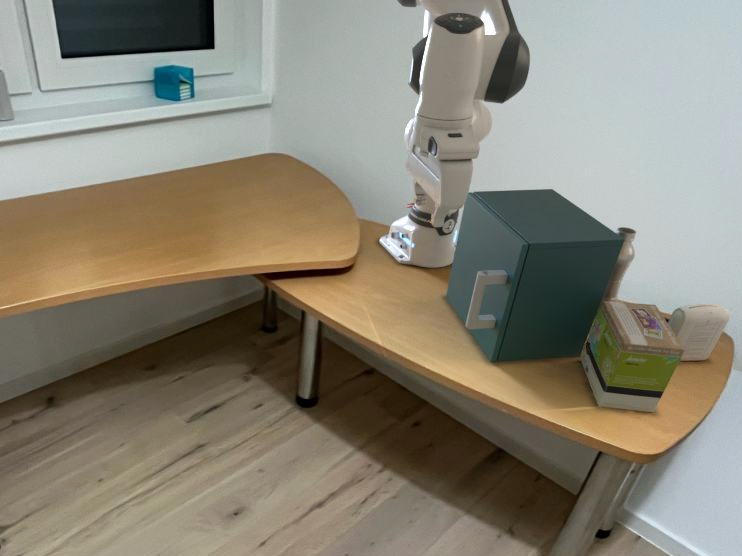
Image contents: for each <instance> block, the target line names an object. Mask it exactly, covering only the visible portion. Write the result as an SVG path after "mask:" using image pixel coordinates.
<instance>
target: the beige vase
mask: <svg viewBox="0 0 742 556" xmlns="http://www.w3.org/2000/svg"><path fill="white" fill-rule="evenodd" d="M615 233H616V234H618V235H619V236H621V237H622V238H624V239H625V241H624V243H623V246H622V249H621V251H620V254H619V256H618V259H617V262H616V264H615V267H614V270H613V272H612V275H611V277H610V280H609V283H608V285H607V288H606V290H605V293H604V296H603V298H602V301H603V300H604V301H612V302H618V296H619V291H620V288H621V285H622V281H623V279H624V277H625V275H626V273H627V271H628V269H629V268H630V266H631V264H632V262H633V260H634V258H635V255H636V254H635V253H636V252H635V248H634V245H633V242H634V241H635V239H636V238H635V237H636V235H637V231H636V230H635V229H633V228H630V227H625V226H623V227H622V226H621V227H620V226H619V227H618V228H617V229H616V231H615ZM602 301H601V302H602ZM600 305H601V304H600ZM599 307H600V306H599ZM598 310H599V309H598ZM597 313H598V311H597Z"/></svg>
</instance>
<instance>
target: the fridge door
mask: <svg viewBox="0 0 742 556" xmlns="http://www.w3.org/2000/svg"><path fill="white" fill-rule="evenodd" d="M528 246H529V244H528V243H527V242H526V241H525V240H524V239H523V238H521V237H520V236H519V235H518V234H517V233H516V232H515V231H514V230H513V229H512V228H510V227H509V226H508V225H507V224H506V223H505V222H504V221H503V220H502V219H501V218H500V217H498V216H497V215H496V214H495V213H494V212H493V211H492V210H491V209H490V208H489V207H487V206H486V205H485V204H484V203H483V202H482V201H481V200H480V199H479V198H478V197H476V196H475V195H474V194H473V192H472V191H471V192H469V191H468V195H467V199H466V202H465V204H464V205H463V210H462V215H461V220H460V224H459V230H458V233H457V238H456V243H455V247H456V249H455V253H454V259H453V263H451V264H452V265H451V269H450V275H449V280H448V283H447V284H448V285H447V289H446V295H445V298H446V300H447V302H448V303H449V304H450V305H451V307H452V309H453V310H454V311H455V313H456V314H457V316H458V317H459V319H460V321H461V322H462V323H463V325H464V326H465V328H466V329H467V330H468V331H469V333H470V334H471V336H472V337H473V339H474V340H475V342H476V343H477V345H478V346H479V348H480V349H481V350H482V352H483V354H484V355H485V356H486V358H487V359H488V361H489V362H490V363H497V357H498V353H499V350H500V346H501V343H502V339H503V335H504V332H505V328H506V325H507V321H508V318H509V314H510V310H511V307H512V303H513V300H514V296H515V292H516V289H517V285H518V282H519V278H520V274H521V271H522V267H523V264H524V260H525V257H526V253H527V249H528Z"/></svg>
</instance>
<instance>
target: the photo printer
mask: <svg viewBox="0 0 742 556" xmlns="http://www.w3.org/2000/svg"><path fill="white" fill-rule="evenodd" d="M668 319H669V321H668V325H669V326H670V328H671V329H672V331H673V332H674V334H675V335H676V337H677V338H678V340H679V341H680V343H681V344H682V346H683V347H684V349H685V351H684V353H683V355H682V357H681V360H680V361H681V362H683V361H684V362H685V361H689V362H690V361H706V360H708V359H709V357H710V356H711V353H712V352H713V350H714V348H715V347H716V345H717V343H718V341H719V340H720V337H721V336H722V335H723V332H724V330H725V328H726V327H727V325H728V323H729V322H730V310H729V309H726V308H725V306H722V305H718V304H714V303H693V304H688V305H683V306H679V307H677V308H675V309H674V310H673V311H672V313H671V315H670V317H669V318H668ZM680 361H679V362H680Z"/></svg>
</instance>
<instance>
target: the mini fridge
mask: <svg viewBox="0 0 742 556" xmlns="http://www.w3.org/2000/svg"><path fill="white" fill-rule="evenodd" d="M472 193H473V194H474V195H475V196H476V197H478V198H479V199H480V200H481V201H482V202H483V203H484V204H485V205H486V206H487V207H489V208H490V209H491V210H492V211H493V212H494V213H495V214H496V215H497V216H498V217H500V218H501V219H502V220H503V221H504V222H505V223H506V224H507V225H508V226H509V227H510V228H512V229H513V230H514V231H515V232H516V233H517V234H518V235H519V236H520V237H521V238H523V239H524V240H525V241H526V242H527V243H528V244H529V246H528V249H527V253H526V257H525V260H524V264H523V267H522V271H521V274H520V278H519V282H518V285H517V289H516V292H515V296H514V300H513V303H512V307H511V310H510V314H509V318H508V321H507V325H506V328H505V332H504V335H503V339H502V343H501V346H500V350H499V353H498V357H497V361H496V363H503V362H504V363H505V362H519V361H520V362H521V361H534V360H536V361H537V360H550V359H551V360H552V359H565V358H566V359H568V358H581V356H582V353H583V350H584V348H585V346H586V343H587V340H588V337H589V334H590V332H591V329H592V326H593V323H594V321H595V318H596V316H597V311H598V309H599V306H600V304H601V301H602V298H603V296H604V293H605V290H606V288H607V285H608V283H609V280H610V277H611V275H612V272H613V270H614V267H615V264H616V262H617V259H618V256H619V254H620V251H621V249H622V246H623V243H624V241H625V239H624V238H622V237H621V236H619V235H618V234H616V231H614V230H613V229H611V228H610V227H608V226H607V225H605V224H604V223H602V222H601V221H599V220H598V219H596V218H595V217H594V216H592V215H591V214H589V213H587V212H586V211H584V210H583V209H582V208H580V207H579V206H578V205H576V204H574V202H572V201H570V200H569V199H568V198H566V197H565V196H563V194H560V193H558V192H557V191H556V190H554V189H553V188H542V189H541V188H540V189H515V190H512V189H511V190H509V189H508V190H484V191H473V192H472Z"/></svg>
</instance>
